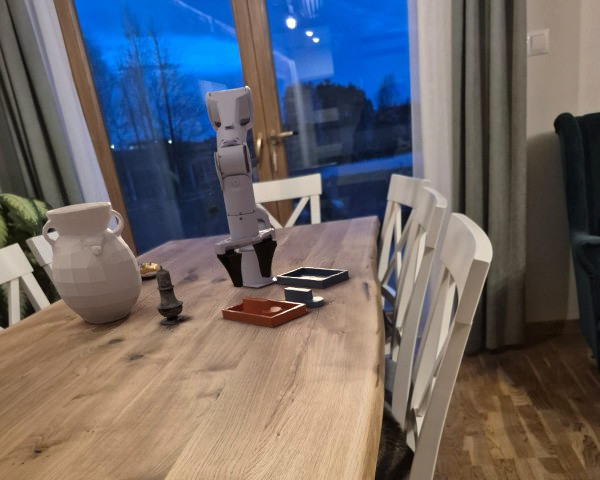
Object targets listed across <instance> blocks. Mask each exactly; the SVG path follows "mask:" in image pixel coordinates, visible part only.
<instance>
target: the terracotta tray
mask: <svg viewBox="0 0 600 480" xmlns="http://www.w3.org/2000/svg"><path fill="white" fill-rule="evenodd" d="M254 298H258V297H256V296H255V297H254ZM260 298H261V299H265V298H263V297H260ZM267 299H268V300H270V305H271V307H280V308H281V309H282V313H280V314H277V315H275V316H272V317H268V316H263V315H258V314H253V313H247V312H244V308H243V302H242V301H241V302H239V303H237V304H234V305H231V306H228V307H226V308H223V309H221V313H222V318H223V319H224V320H229V321H235V322H241V323H245V324H252V325H257V326H262V327H266V328H267V327H268V328H275V327H277V326H279V325H282V324H284V323H286V322H289V321H291V320H293V319H296V318H299V317H301V316H303V315H305V314H307V307H306V304H301V303H293V302H286V300H279V299H278V300H277V299H271V298H267Z"/></svg>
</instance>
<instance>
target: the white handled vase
mask: <svg viewBox="0 0 600 480" xmlns="http://www.w3.org/2000/svg"><path fill="white" fill-rule="evenodd" d="M45 215H46V218H47V221H46V223H45V224H44V225H43V227H42V236H43V238H44V240H45V241H46V242H47V243H48V245H50V246H51V251H52V260H51V270H52V278H53V282H54V285H55V288H56V290H57V293H58V295H59V296H60V298H61V300H62V301H63V302H64V303H65V305H66V306H67V307H68V308H69V309H70V310H71V311H73V312H74V313H75V314H76V315H77V316H79V317H80V318H82V319H83V320H85V321H86V322H88V323H89V324H105V323H111V322H114V321H118V320H120V319H123V318H126V317H127V316H128V315H129V313H131V310H132V309H133V307H134V306H135V305H136V303H137V301H138V300H139V297H140V295H141V292H142V284H143V282H142V281H143V279H142V274H141V273H140V268H139V266H138V263H137V262H138V260H137V259H136V258H137V257H136V256H135V254H134V252H133V251H132V250H131V248H130V247H129V244H127V243H126V241H125V240H124V239H123V237H122V236H121V234H122V233H123V230H124V228H125V219H124V217H123V216H122V214H121V213H120V212H118V211H116V210H114V209H112V203H111V202H110V201H94V202H84V203H78V204H77V203H75V204H71V205H66V206H65V205H64V206H61V207H58V208H54V209H50V210H48V211H46V213H45ZM113 217H115V218H117V220H118V224H117V226H116V227H115V228H114V229H110V228H109V226H110V221H111V219H112V218H113ZM49 229H54V230H55V231H56V233H57V235H58V236H57V238H56V239H53V238H50V235H49V234H48V231H49Z"/></svg>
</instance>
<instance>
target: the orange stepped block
mask: <svg viewBox="0 0 600 480" xmlns="http://www.w3.org/2000/svg"><path fill="white" fill-rule="evenodd" d="M261 298H262V297H257V298H255V297H254V296H245V297H243V298H241V303H242V302H243V308H244V312H247V313H253V314H258V315H263V316H268V317H272V316H275V315H277V314H280V313H282V309H281V308H280V307H271V305H270V300H268V299H269V298H264V299H261Z"/></svg>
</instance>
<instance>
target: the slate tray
mask: <svg viewBox="0 0 600 480" xmlns="http://www.w3.org/2000/svg"><path fill="white" fill-rule="evenodd" d="M349 276H350V275H349V270H348V269H337V268H336V269H334V268H323V267H308V266H302V267H299V268H296V269H293V270H290V271H287V272H284V273H282V274H279V275H276V277H275V278H277V281H276V283H277V285H285V286H293V287H294V286H296V287H303V288H304V287H305V288H312V289H322V290H323V289H325V288H328V287H331V286H332V285H333V286H334V285H335V284H338V283H341V282H343V281H346V280H348V279H350V277H349Z"/></svg>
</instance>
